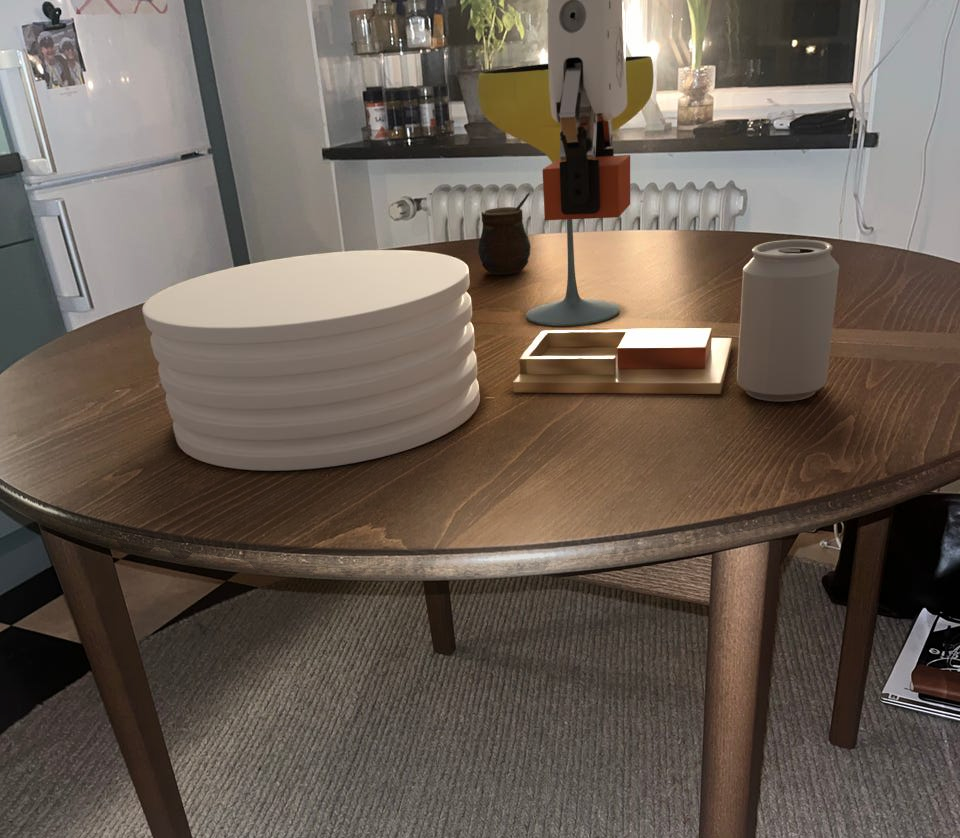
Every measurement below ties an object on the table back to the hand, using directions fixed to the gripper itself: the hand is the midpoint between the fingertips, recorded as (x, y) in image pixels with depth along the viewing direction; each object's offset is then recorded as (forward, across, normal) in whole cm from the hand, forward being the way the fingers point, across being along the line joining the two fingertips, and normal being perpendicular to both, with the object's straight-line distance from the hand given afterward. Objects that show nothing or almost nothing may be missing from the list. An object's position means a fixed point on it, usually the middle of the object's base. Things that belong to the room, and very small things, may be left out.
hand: (588, 204), depth 85 cm
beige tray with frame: (+15, +2, -3) cm, 16 cm away
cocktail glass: (+15, +23, +6) cm, 28 cm away
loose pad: (+1, 0, 0) cm, 1 cm away
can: (+15, -4, -17) cm, 23 cm away
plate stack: (+15, -11, +23) cm, 29 cm away
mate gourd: (+15, +46, +20) cm, 53 cm away
